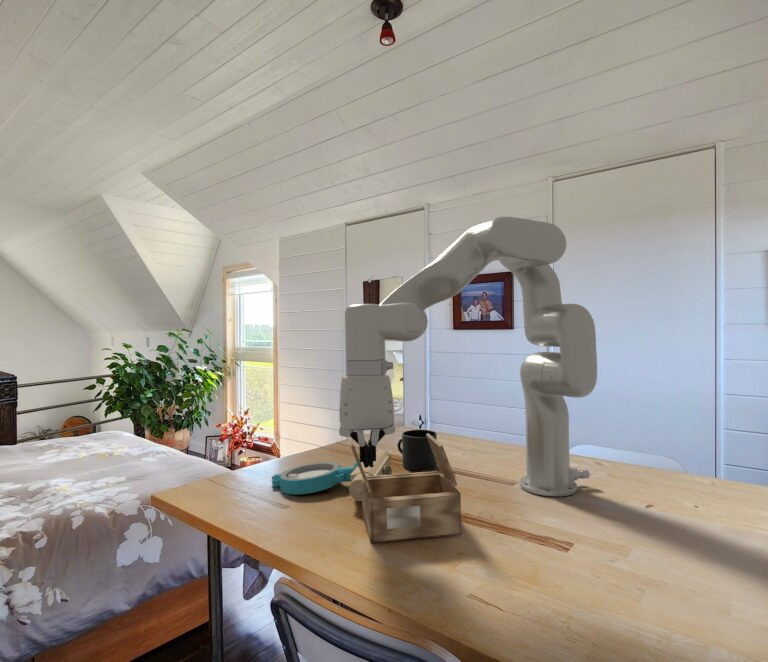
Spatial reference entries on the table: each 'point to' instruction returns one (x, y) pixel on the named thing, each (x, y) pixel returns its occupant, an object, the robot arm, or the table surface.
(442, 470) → the flap
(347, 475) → the butterfly valve
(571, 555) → the table surface
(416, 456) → the mug
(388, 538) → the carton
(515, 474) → the table surface
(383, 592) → the table surface
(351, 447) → the flap
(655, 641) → the table surface
